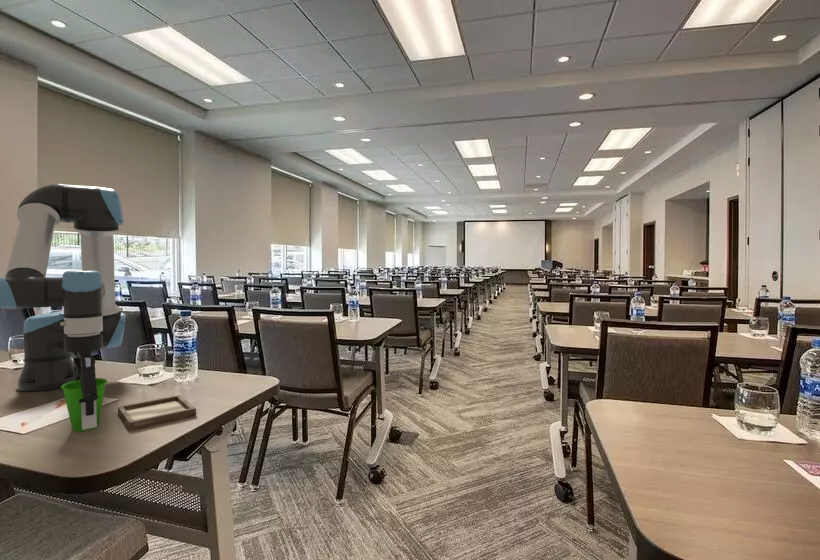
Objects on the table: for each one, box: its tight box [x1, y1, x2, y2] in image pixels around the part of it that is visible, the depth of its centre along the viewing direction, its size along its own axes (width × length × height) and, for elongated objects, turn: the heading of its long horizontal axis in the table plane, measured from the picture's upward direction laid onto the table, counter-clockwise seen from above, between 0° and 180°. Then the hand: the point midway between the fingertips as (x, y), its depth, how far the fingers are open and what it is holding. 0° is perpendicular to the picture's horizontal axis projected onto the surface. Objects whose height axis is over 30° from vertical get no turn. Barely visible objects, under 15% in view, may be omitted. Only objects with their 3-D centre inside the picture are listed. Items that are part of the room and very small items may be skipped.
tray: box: [117, 394, 197, 432], centre depth 114 cm, size 15×15×2 cm
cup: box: [60, 377, 108, 432], centre depth 105 cm, size 9×9×11 cm
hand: (85, 419), depth 105 cm, fingers open, 13 cm apart
